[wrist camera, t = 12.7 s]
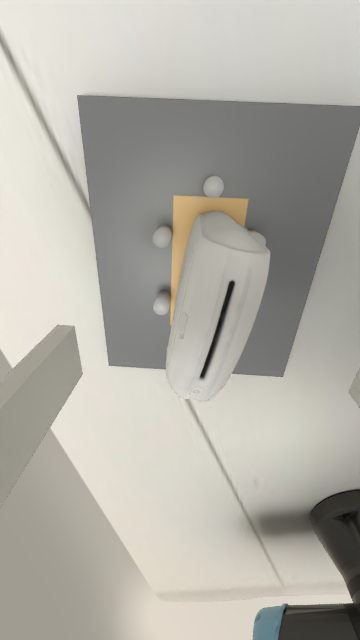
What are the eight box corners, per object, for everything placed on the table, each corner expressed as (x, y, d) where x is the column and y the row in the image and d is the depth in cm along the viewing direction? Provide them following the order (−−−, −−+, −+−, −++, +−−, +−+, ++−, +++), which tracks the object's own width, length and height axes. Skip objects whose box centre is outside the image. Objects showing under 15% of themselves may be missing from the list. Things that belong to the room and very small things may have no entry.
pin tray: (355, 111, 18) (391, 94, 15) (279, 370, 30) (290, 392, 26) (83, 100, 19) (60, 82, 15) (111, 359, 30) (101, 380, 27)
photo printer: (212, 323, 25) (226, 426, 15) (171, 314, 25) (153, 412, 14) (245, 217, 21) (303, 251, 10) (194, 205, 20) (196, 227, 9)
